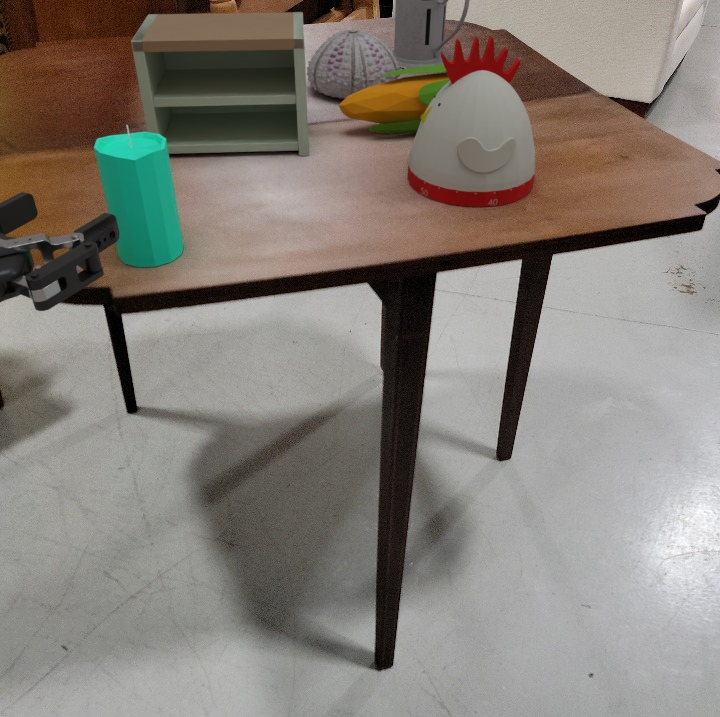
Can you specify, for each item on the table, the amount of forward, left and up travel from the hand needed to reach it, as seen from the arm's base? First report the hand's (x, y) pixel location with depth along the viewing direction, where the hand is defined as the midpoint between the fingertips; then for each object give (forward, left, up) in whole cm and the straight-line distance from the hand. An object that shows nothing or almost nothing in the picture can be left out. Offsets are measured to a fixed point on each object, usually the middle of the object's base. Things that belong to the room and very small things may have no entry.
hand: (72, 213), depth 58 cm
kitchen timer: (+37, +21, -8) cm, 43 cm away
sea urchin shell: (+26, +53, -8) cm, 59 cm away
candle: (+4, +7, -8) cm, 11 cm away
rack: (+10, +35, -7) cm, 37 cm away
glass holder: (+39, +64, -8) cm, 75 cm away
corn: (+33, +37, -8) cm, 50 cm away
